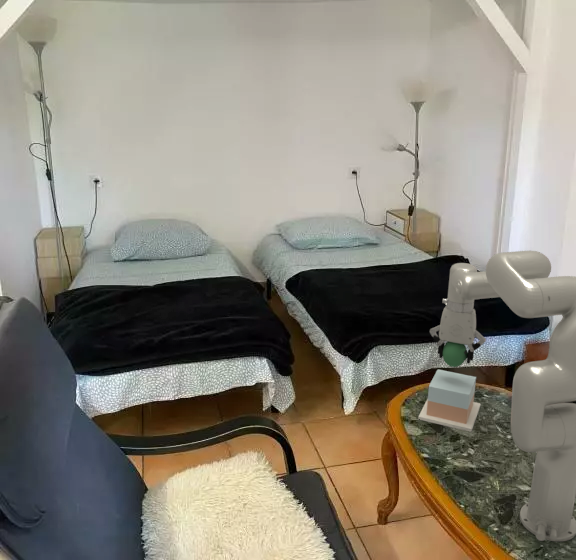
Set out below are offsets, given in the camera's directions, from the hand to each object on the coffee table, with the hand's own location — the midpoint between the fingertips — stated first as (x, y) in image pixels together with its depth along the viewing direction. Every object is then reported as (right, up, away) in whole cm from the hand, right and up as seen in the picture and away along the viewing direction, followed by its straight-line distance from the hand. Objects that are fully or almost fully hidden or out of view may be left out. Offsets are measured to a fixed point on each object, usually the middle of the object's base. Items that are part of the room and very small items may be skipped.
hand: (455, 358), depth 182 cm
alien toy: (0, -2, +1) cm, 3 cm away
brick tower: (0, -18, +6) cm, 19 cm away
